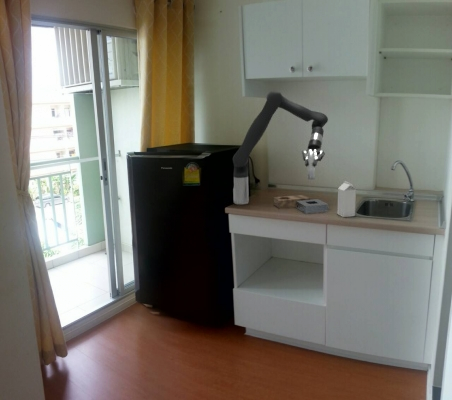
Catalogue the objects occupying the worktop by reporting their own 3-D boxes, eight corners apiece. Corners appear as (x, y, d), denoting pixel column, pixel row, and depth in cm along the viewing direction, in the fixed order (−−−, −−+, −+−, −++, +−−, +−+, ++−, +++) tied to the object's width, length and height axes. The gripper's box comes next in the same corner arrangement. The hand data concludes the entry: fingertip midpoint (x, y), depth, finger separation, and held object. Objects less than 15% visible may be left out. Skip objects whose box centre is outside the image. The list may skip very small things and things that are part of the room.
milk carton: (343, 217, 227) (344, 183, 222) (337, 214, 233) (338, 181, 229) (354, 216, 228) (356, 182, 224) (348, 213, 235) (350, 180, 231)
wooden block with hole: (279, 208, 249) (279, 200, 248) (274, 204, 259) (273, 197, 258) (310, 206, 253) (310, 198, 252) (303, 202, 263) (303, 194, 262)
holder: (305, 213, 236) (305, 206, 235) (296, 208, 250) (296, 200, 249) (328, 211, 239) (328, 204, 238) (317, 206, 252) (317, 199, 251)
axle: (309, 179, 239) (309, 152, 235) (306, 178, 243) (306, 151, 239) (315, 179, 240) (315, 151, 236) (312, 178, 243) (312, 150, 240)
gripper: (302, 138, 245) (297, 161, 238) (326, 138, 239) (321, 162, 232) (304, 146, 251) (299, 169, 243) (328, 146, 245) (323, 170, 237)
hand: (310, 165), depth 238 cm, fingers closed on axle, 4 cm apart
